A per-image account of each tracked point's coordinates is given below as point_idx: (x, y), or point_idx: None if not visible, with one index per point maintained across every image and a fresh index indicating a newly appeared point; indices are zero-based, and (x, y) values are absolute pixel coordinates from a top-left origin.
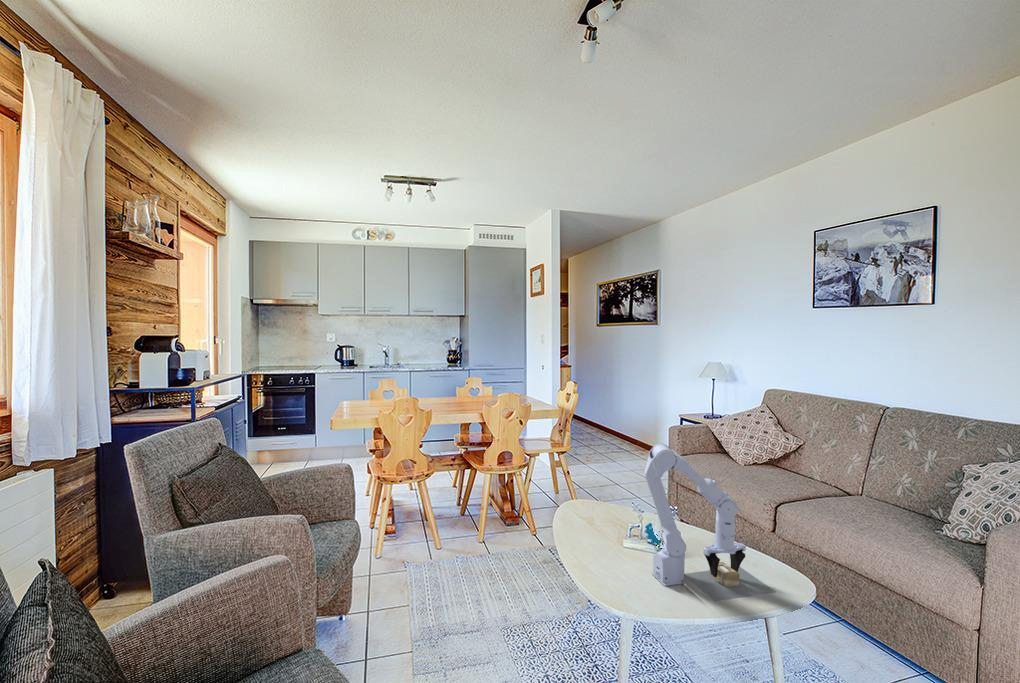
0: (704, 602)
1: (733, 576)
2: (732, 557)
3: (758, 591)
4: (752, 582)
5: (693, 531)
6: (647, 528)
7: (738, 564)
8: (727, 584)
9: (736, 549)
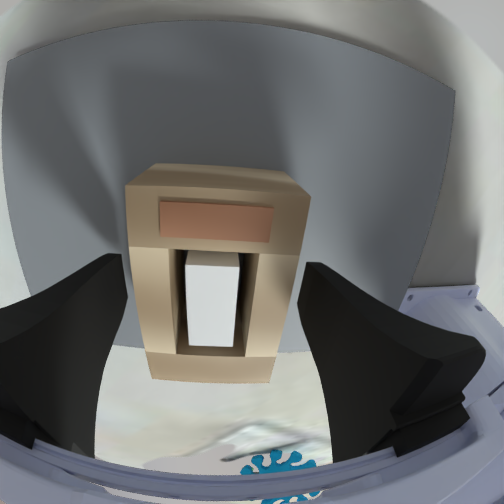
0: (466, 129)
1: (206, 183)
2: (84, 385)
3: (88, 60)
4: (47, 177)
5: (120, 464)
6: (303, 497)
7: (63, 293)
8: (268, 173)
9: (14, 497)
